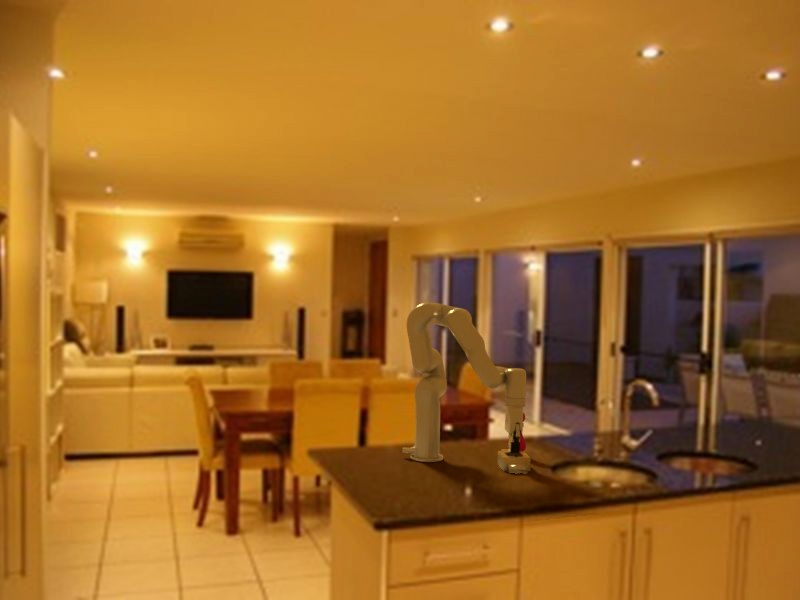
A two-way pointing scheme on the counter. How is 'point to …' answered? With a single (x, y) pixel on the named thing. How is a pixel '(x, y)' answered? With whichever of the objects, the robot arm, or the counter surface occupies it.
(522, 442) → the pepper mill
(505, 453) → the beige stand
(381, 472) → the counter surface
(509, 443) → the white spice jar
